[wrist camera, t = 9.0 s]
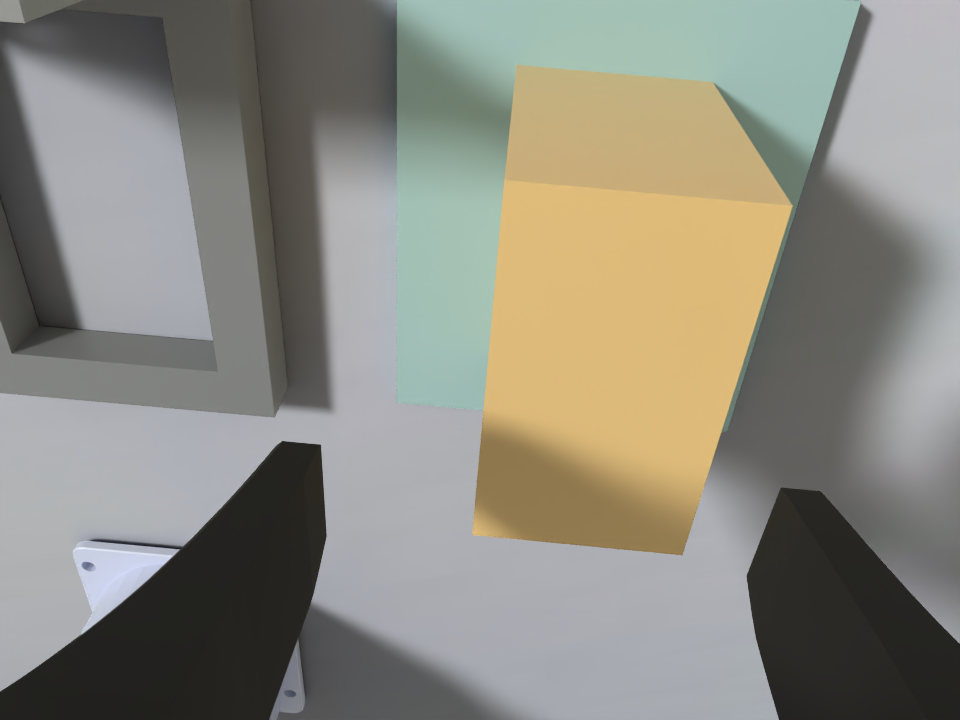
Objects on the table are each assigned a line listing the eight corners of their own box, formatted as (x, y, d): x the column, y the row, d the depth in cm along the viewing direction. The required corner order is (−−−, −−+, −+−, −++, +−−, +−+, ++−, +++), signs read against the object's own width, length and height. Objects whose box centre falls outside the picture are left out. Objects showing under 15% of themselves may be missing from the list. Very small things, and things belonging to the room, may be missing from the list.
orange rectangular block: (646, 366, 23) (682, 555, 17) (490, 352, 23) (472, 535, 17) (712, 82, 18) (792, 206, 12) (516, 64, 18) (504, 180, 12)
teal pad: (723, 419, 24) (727, 432, 24) (399, 390, 24) (396, 402, 24) (852, -4, 17) (861, 1, 17) (400, -40, 18) (396, -35, 17)
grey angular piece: (288, 387, 25) (178, 632, 17) (4, 362, 25) (-225, 594, 17) (239, -106, 17) (7, -46, 10) (-168, -137, 17) (-706, -103, 10)
